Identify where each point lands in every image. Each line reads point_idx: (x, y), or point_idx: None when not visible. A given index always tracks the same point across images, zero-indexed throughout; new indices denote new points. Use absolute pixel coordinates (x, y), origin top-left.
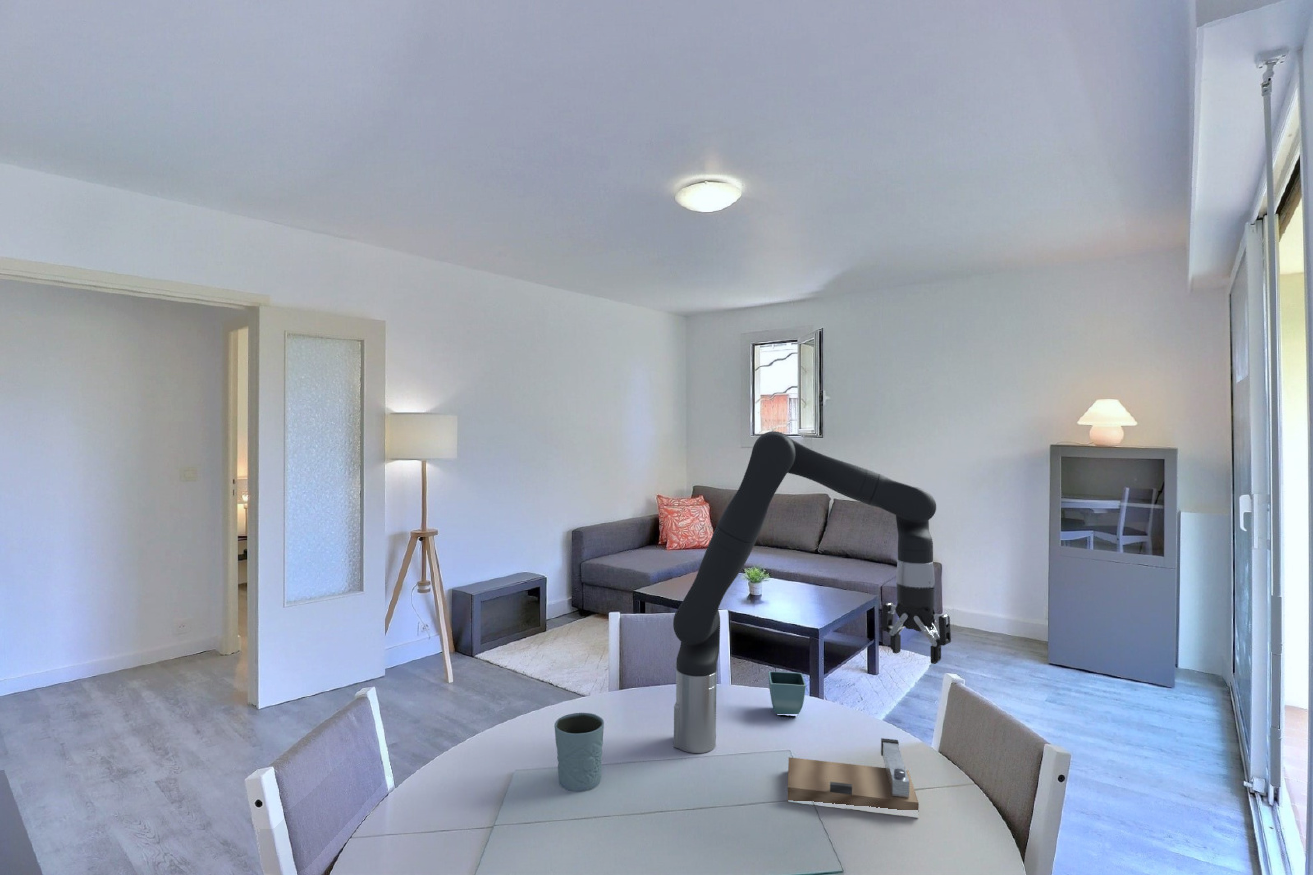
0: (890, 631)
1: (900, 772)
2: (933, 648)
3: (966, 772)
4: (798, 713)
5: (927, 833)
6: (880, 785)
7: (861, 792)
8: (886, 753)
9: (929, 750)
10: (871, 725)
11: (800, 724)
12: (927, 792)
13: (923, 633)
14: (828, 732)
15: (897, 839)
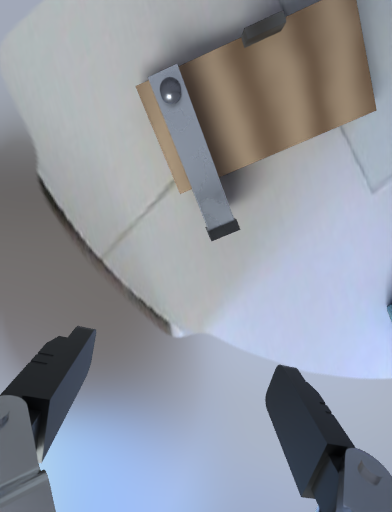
0: (389, 484)
1: (167, 84)
2: (33, 386)
3: (119, 284)
4: (389, 308)
5: (117, 59)
6: (206, 107)
7: (228, 58)
8: (216, 175)
9: (181, 318)
10: (274, 346)
11: (375, 287)
12: (150, 189)
13: (53, 506)
14: (328, 287)
15: (150, 6)
